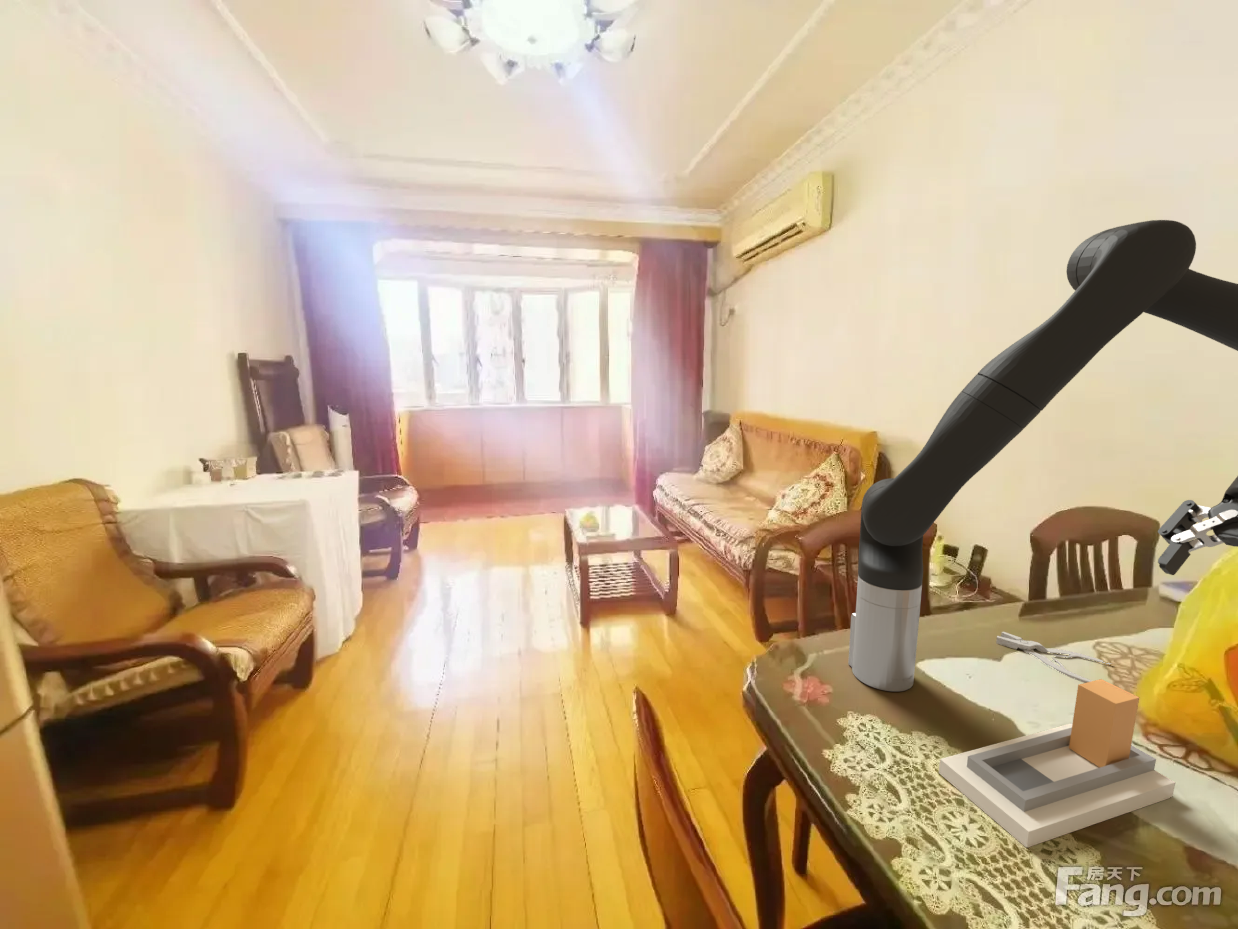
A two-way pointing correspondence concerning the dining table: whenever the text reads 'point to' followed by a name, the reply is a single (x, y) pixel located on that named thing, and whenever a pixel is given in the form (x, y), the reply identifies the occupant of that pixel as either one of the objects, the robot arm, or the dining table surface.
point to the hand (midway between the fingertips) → (1207, 582)
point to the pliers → (1028, 647)
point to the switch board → (1052, 785)
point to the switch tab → (1103, 722)
